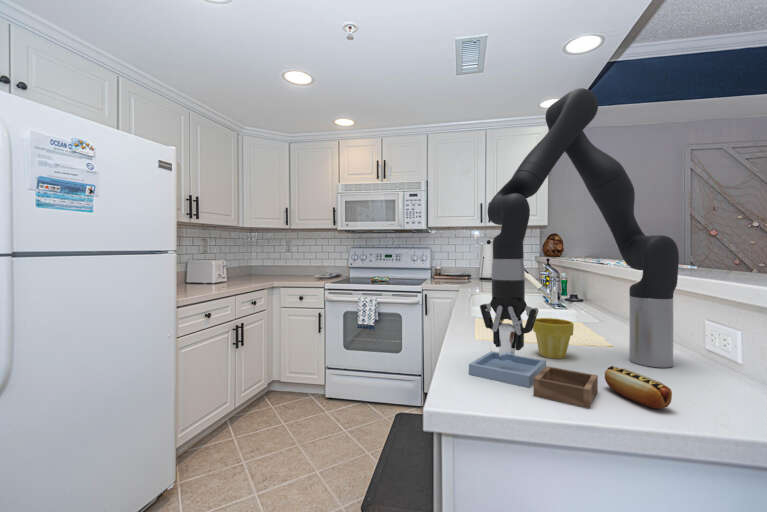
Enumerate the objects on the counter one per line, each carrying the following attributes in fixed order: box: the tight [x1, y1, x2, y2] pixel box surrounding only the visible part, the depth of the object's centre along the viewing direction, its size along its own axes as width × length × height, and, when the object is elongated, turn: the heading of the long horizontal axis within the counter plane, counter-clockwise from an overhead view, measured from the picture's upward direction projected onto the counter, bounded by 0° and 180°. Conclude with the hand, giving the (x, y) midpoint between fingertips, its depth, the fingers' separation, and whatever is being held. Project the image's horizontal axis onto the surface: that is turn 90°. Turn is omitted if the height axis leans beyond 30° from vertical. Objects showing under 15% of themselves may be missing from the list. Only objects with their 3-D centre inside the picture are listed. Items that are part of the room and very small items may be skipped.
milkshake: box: [498, 322, 517, 363], centre depth 87 cm, size 4×5×10 cm
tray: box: [468, 351, 547, 388], centre depth 88 cm, size 14×14×2 cm
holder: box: [533, 365, 599, 410], centre depth 74 cm, size 10×10×4 cm
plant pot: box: [532, 317, 574, 360], centre depth 102 cm, size 10×10×10 cm
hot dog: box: [604, 365, 673, 409], centre depth 71 cm, size 5×13×5 cm, turn 10°
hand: (508, 347), depth 88 cm, fingers closed on milkshake, 4 cm apart
